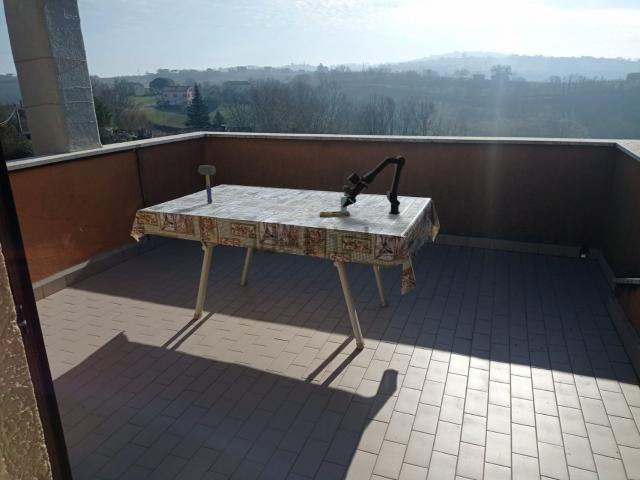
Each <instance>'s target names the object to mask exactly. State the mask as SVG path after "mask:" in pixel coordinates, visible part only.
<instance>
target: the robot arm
mask: <svg viewBox="0 0 640 480" xmlns="http://www.w3.org/2000/svg"><path fill="white" fill-rule="evenodd" d="M406 162H407V161H406V158H405V157H404V156H401V155H398V156H386V157H385V158H384V159H383V160H382V161H381V162H379V164H378V165H376V166H375V167H374V168H373V169H372V170H371V171H368V172H367V173H365V174H364V175H363V176H359V175H358V174H357V173H356V172H355V171H354V172H353V173H351V174H349V176H348V177H347V179H346V180H347V181H348V182H349V183H350V184H351V185H353V186H354V185H355V186H354V187H353V186H352V187H350V186H349V185H345V184H344V185H343V187H342V191H343V192H344V194H343V196H346V197H347V201H346V202H345V203H344V205H343V206H342V207H343V208H344V207H346V206H347V207H349V206H351V205H355V204H356V203H357V199H356V198H357V197H358V195H359V196H360V194H361V193H362V192H363V191H364V190H365V189H366V190H369V185H370V184H372V183H373V182H374V180H375V179H376V177H377V176H378V175H379V173H381V172H382V171H383V170H384V169H385V168H386V167H387V166H388V165H389V164H391V165H392V164H394V172H393V178H392V181H391V182H392V183H391V187H390V189H389V190H387V191H386V193H387V194H386V200H388V202H389V204H390V211H389V212H388V214H392V215H398V214H400V213H401V211H400V210H399V209H400V205H401V201H399V200H398V187H399V184H400V179H401V174H402V170H403V168H404V166H405V164H406ZM339 203H340V205H341V202H339Z"/></svg>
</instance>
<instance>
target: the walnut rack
mask: <svg viewBox="0 0 640 480" xmlns="http://www.w3.org/2000/svg"><path fill="white" fill-rule="evenodd" d="M330 211H331V212H332V213H331V214H325V213H326V211H319V217H320V218H331V217H332V218H334V217H350V215H351V214H350V211H349V210H347V213H341V210H337V211H336V210H335V211H334V210H333V211H332V210H330Z"/></svg>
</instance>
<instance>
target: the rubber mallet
mask: <svg viewBox="0 0 640 480" xmlns="http://www.w3.org/2000/svg"><path fill="white" fill-rule="evenodd" d="M197 171H198V173H199V174H200V175H203V176H204V175H205V182H206V186H205V188H206V196H207V197H206V198H207V200H206V201H207V203H208V204H212V203H213V198H212V197H213V196H212V187H211V183H210V182H211V181H210V176H213V175H215V174H216V172H217V169H216V167H215V165H210V164H209V165H208V164H205V165H204V164H203V165H199V166H198V169H197Z"/></svg>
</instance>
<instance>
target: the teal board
mask: <svg viewBox="0 0 640 480" xmlns="http://www.w3.org/2000/svg"><path fill="white" fill-rule="evenodd" d="M346 201H347V197H346V196H344V195H341V196H340V203H341V204H340V211H341V213H347V211H348V206H346V207H344V208H343V207H342V206H343V205H344V203H345V202H346Z"/></svg>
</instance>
